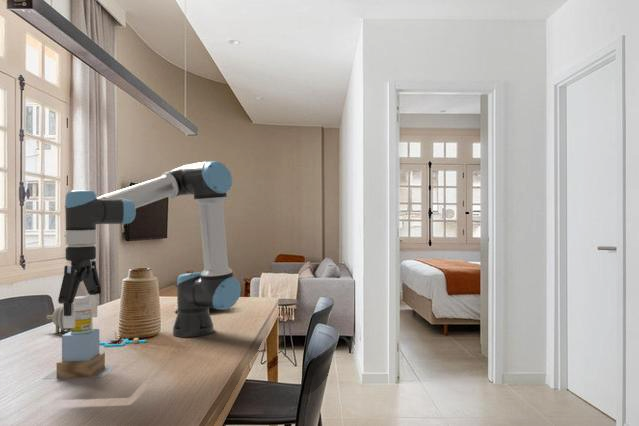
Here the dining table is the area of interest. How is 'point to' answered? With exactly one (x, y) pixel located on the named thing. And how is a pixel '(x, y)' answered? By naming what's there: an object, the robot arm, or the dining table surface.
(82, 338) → the blue cube
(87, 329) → the supplement bottle
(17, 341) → the dining table surface
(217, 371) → the dining table surface
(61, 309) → the toy sheep
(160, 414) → the dining table surface
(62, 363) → the base brick
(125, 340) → the gear mechanism
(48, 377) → the board
